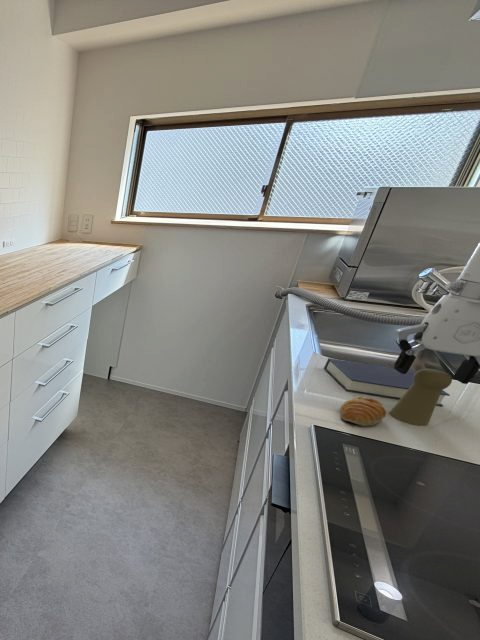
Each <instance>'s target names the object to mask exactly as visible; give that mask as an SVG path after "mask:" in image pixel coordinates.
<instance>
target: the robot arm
mask: <svg viewBox="0 0 480 640" xmlns="http://www.w3.org/2000/svg"><path fill="white" fill-rule="evenodd" d="M444 290H447V291H448V294H444V295H443V296H442V297H441V298H440V299H439V300H438V301H437V302H436V303H434V306H433V307H432V308H431V309H430V310H429V311H428V313H427V314H426V316H425V317H424V318H423V320H422V321H421V323H419V324H418V323H417V324H414V325H409V326H404V327H400V328H397V329H395V331H394V332H395V343H396V345H397V346H398V347H399V350H400V351H401V352H400V353H399V355H398V356H397V359H396V360H395V362H394V364H393V365H394V367H393V368H394V369H395V370H397V371H398V372H399V373H401V374H406V373H407V372H408V370H410V369H411V368H412V366H413V364H414V362H415V360H416V359H417V356H416V355H415V354H418V353H420V352H422V351H424V350H426V349H428V350H430V351H436V352H442V353H449V354H455V355H462V356H467V357H468V359H464V360H463V361H462V362H461V364H460V365H459V367H458V368H457V370H456V371H455V372H454V374H453V376H452V379H455V380H456V381H458V382H459V383H461V384H463V385H468V384H469V383H470V381H471V380H472V379H473V378H474V377H475V376H476V374H477V372H479V370H480V242H479V243H478V244H477V246H476V247H475V250H474V251H473V252H472V255H471V256H470V258H469V260H468V261H467V263H466V265H464V268H463V270H462V271H461V273H460V275H459V276H458V278H456V279H455V281H454V282H452V281H451V282H447V283H446V284H445V285H444ZM413 334H414V335H413ZM410 335H413V337H412V340H411V341H408V336H410Z"/></svg>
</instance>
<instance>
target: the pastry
mask: <svg viewBox="0 0 480 640" xmlns="http://www.w3.org/2000/svg"><path fill="white" fill-rule="evenodd" d="M386 417H387V411H386V409H385V407H384V406H383V404H382V402H380V401H379V400H377V399H374V398H371V397H362V396H359V397H353V398H352V399H350V400H349V399H348V400H346V401H345V402H344V403H343V404H342V405H341V407H340V418H342V420H343V421H346V422H350V423H353V424H356V425H358V426H362V427H368V426H370V427H372V426H375V425H377V424H378V423H380V422H382V421H383V419H384V418H386Z"/></svg>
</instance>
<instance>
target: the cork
mask: <svg viewBox="0 0 480 640" xmlns="http://www.w3.org/2000/svg"><path fill="white" fill-rule="evenodd" d="M415 372H416V373H415V375H414V378H413V379H414V383H413V384H412V386H411V387H410V388H409V389H408V390H407V392H406V393H405V394H404V395H403V396H402V398H401V399H400V400H399V399H398V401H397V402H396V403H395V404H394V406H393V407H392V408H391V410H389V415H390V416H391V417H393V418H394V419H396V420H399V421H401V422H404V423H406V424H411V425H414V426H420V427H421V426H422V427H423V426H424V427H425V426H428V425H429V423H430V421H431V419H432V416H433V413H434V411H435V408H436V404H437V401H438V399H439V396H440V394H441V391H442V390H443V391H444V390H445V389H447V388H448V387H450V386H451V384H452V382H453V376H451V374H449V373H447V372H445V371H442V370H439V369H436V368H435V369H434V368H427V367H426V368H425V367H424V368H421V369H419V370H417V371H415Z"/></svg>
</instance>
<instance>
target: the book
mask: <svg viewBox="0 0 480 640" xmlns="http://www.w3.org/2000/svg"><path fill="white" fill-rule="evenodd" d="M325 362H326V363H325V365H324V366H323V369H324V370H325V371H326V372H327V373H328V374H329V375H330V376H331V378H333V379H334V380H335V382H337V383H338V385H339V386H341V387H342V389H344V390H345V391H346V392H349V393H350V392H351V393H357V394H362V395H368V396H375V397H381V398H387V397H388V398H387V399H393V398H395V399H394V400H399V399H401V398H402V396H403V395H404V394H405V393H406V392H407V390H408V389H409V388H410V387H411V386H412V384H413V383H414V379H413V378H414V375H415V373H416V372H417V371H416V370H413V369H409V370H408V372H407V373H406V374H401V373H399V372H398V371H397V370H395V369H394V367H392V366H385V365H378V364H372V363H364V362H359V361H351V360H345V359H338V358H330V357H328V358H327V361H325ZM445 396H447V397H450V396H451V394H450V393H448V392H446V391H445V390H444V389H443V390H442V391H441V394H440V396H439V399H438V401H437V404H436V406H437V407H444V405H443V403H441V402H442V401H443V399H444V397H445ZM436 406H435V407H436Z"/></svg>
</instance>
